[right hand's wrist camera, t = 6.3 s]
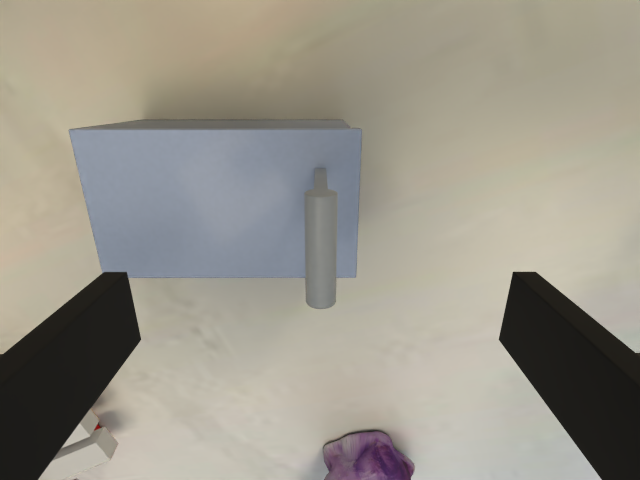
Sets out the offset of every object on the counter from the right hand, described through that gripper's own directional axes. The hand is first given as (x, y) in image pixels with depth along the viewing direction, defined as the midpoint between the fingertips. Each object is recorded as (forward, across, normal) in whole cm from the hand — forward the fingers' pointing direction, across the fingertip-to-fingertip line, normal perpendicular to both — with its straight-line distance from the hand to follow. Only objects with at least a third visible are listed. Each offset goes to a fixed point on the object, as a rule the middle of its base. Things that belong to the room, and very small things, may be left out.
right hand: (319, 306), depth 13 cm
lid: (+13, -6, 0) cm, 14 cm away
